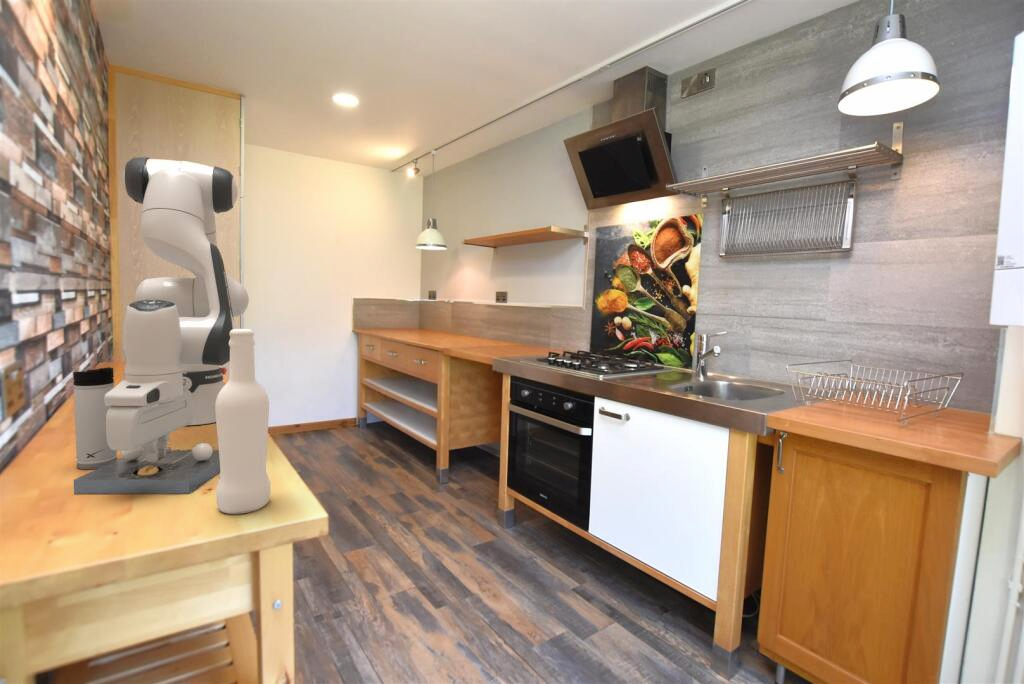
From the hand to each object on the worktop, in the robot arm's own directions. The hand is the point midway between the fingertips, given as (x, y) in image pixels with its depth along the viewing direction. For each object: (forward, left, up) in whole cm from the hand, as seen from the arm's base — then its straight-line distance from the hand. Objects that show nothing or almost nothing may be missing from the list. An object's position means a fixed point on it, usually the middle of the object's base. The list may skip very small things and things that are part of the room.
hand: (156, 459), depth 94 cm
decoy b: (-4, -7, 0) cm, 7 cm away
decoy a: (-4, +6, 0) cm, 7 cm away
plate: (-2, 0, -4) cm, 4 cm away
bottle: (+12, +21, -4) cm, 25 cm away
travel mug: (-8, -16, -4) cm, 18 cm away
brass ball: (+3, 0, -2) cm, 3 cm away
